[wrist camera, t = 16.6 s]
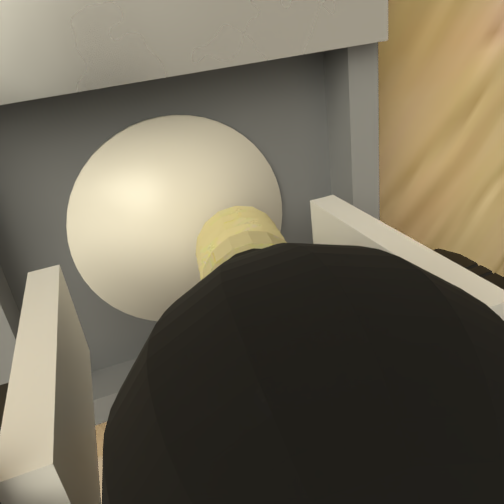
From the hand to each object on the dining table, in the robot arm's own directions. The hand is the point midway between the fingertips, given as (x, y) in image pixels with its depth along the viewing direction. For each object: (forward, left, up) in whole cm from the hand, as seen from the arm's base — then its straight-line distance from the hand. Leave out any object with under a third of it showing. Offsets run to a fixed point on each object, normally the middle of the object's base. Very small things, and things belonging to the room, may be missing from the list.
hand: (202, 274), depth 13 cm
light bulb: (+2, 0, -2) cm, 3 cm away
